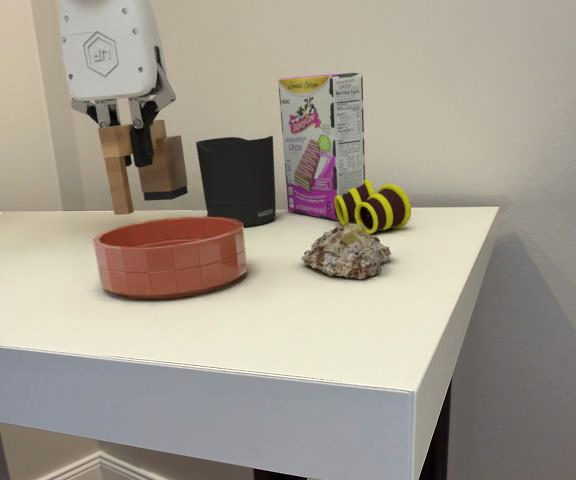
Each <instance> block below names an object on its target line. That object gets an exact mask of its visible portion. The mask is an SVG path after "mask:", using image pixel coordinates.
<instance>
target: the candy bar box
mask: <svg viewBox="0 0 576 480" xmlns="http://www.w3.org/2000/svg"><path fill="white" fill-rule="evenodd" d="M363 75H364V74H363V72H344V73H343V72H342V73H327V74H311V75H299V76H291V77H282V78H278V79H277V82H278V93H279V94H278V96H279V108H280V109H279V110H280V121H281V123H280V124H281V135H282V144H283V160H284V174H285V185H286V200H287V202H286V203H287V211H288V212H292V213H298V214H301V215H306V216H307V215H308V216H312V217H317V218H322V219H328V220H334V221H339V218H338V215H337V212H336V208H335V202H334V199H335V197H336V196H338V195H340V196H343V194H344V193H346V194H347V192H348V191H349V190H350V189H352V188H355V189H356V188H357V187H359V186H361V185H363V182H364V180H366V165H365V164H366V163H365V162H366V160H365V158H366V157H365V125H364V124H365V121H364V119H365V118H364V84H363V83H364V82H363V81H364V80H363Z"/></svg>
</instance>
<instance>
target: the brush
mask: <svg viewBox="0 0 576 480" xmlns="http://www.w3.org/2000/svg"><path fill="white" fill-rule="evenodd" d="M131 129H133V124H132V122H131V123H125V124H121V125H117V126H111V127H104V128H100V127H98V128H97V131H98V135H99V136H98V137H99V142H100V147H101V152H102V157H103V160H104V164H105V169H106V174H107V180H108V186H109V191H110V196H111V202H112V206H113V207H112V209H113V213H114V215H116V216H119V215H130V214H133V213H135V211H134V204H133V198H132V193H131V186H130V181H129V175H128V170H127V169H128V168H127V167H126V163H125V158H124V156H127V155H131V156H132V155H133V150H132V144H131V138H130V130H131ZM150 132H151V138H152V145H153V151H154V156H153V158H152V159H153V164H152V165H149V166H145V167H140V168H137V170H138V177H139V183H140V188H141V193H143V200H144V201H145V202H149V201H168V200H169V201H172V200H175V199H177V198H180V197H182V196H184V195H187V194H188V193H189V192H188V191H189V190H188V185H189V183H188V176H187V169H186V163H185V155H184V148H183V139H182V135H181V134H177V135H167V131H166V123H165V119H154V123H153V125H152V126H151V127H150Z"/></svg>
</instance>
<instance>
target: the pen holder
mask: <svg viewBox="0 0 576 480" xmlns="http://www.w3.org/2000/svg"><path fill="white" fill-rule="evenodd" d="M195 146H196V151H197V158H198V166H199V170H200V178H201V183H202V190H203V197H204V203H205V208H206V214H207V217H208V216H209V217H225V218H231V219H236V220H238V221H240V222H242V223H243V226H244V228H248V227H255V226H260V225H264V224H268V223H271V222H272V221H274V220H275V218H276V216H277V205H276V177H275V176H276V175H275V156H274V155H275V154H274V136H273V135H269V136H266V137H263V138H257V139H247V138H242V137H237V136H226V137H217V138H209V139H203V140H198V141H196V142H195Z"/></svg>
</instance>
